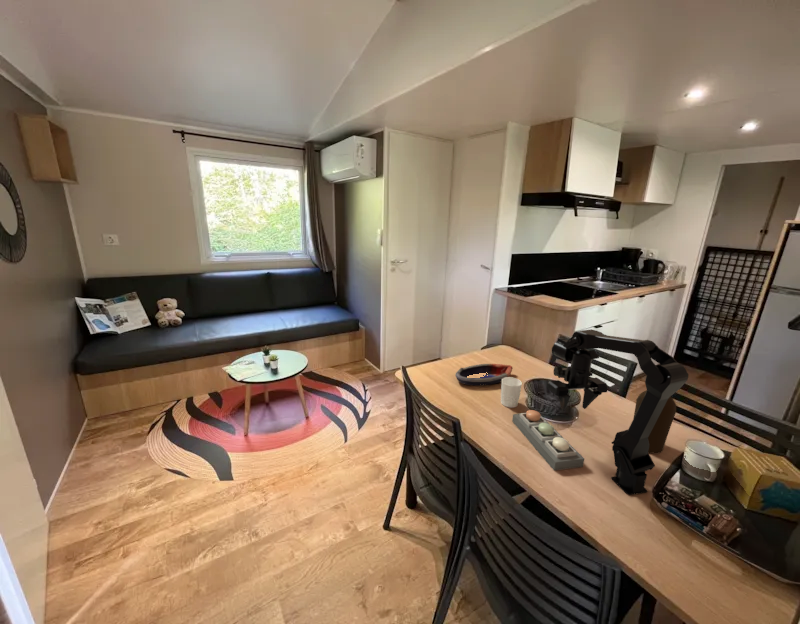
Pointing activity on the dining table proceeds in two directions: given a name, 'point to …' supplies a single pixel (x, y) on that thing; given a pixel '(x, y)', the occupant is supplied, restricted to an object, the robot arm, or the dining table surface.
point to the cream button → (560, 444)
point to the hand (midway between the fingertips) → (573, 409)
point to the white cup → (510, 391)
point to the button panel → (547, 444)
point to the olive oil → (659, 424)
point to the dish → (494, 375)
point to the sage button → (546, 429)
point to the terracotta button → (533, 415)
